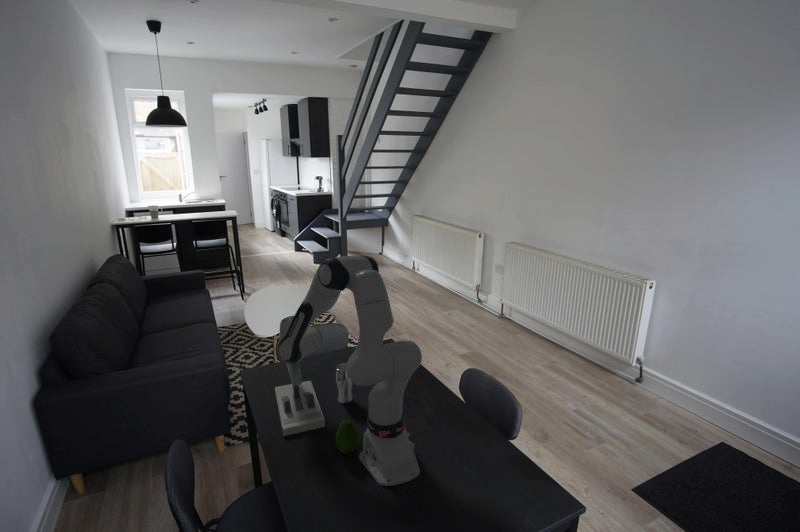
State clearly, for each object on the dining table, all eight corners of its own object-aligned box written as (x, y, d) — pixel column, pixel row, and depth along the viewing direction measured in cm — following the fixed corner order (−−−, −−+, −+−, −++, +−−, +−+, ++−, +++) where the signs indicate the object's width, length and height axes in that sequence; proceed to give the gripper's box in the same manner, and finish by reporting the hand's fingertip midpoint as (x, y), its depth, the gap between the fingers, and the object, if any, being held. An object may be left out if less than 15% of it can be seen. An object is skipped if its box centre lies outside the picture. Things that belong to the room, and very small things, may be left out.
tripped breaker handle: (299, 396, 169) (298, 387, 168) (294, 397, 169) (293, 388, 168) (298, 394, 171) (298, 385, 170) (293, 395, 170) (293, 386, 169)
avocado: (337, 461, 139) (336, 429, 136) (334, 445, 146) (333, 415, 143) (361, 456, 141) (360, 425, 138) (357, 441, 148) (356, 412, 145)
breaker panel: (324, 426, 156) (324, 409, 154) (283, 436, 151) (282, 417, 149) (310, 386, 183) (310, 371, 181) (275, 393, 178) (274, 377, 176)
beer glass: (355, 395, 177) (354, 362, 173) (351, 404, 170) (350, 371, 166) (339, 394, 177) (337, 362, 174) (334, 403, 171) (333, 370, 167)
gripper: (304, 364, 163) (306, 395, 167) (296, 342, 181) (298, 371, 185) (287, 367, 161) (289, 399, 164) (281, 345, 179) (283, 374, 183)
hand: (294, 384), depth 175 cm, fingers closed
